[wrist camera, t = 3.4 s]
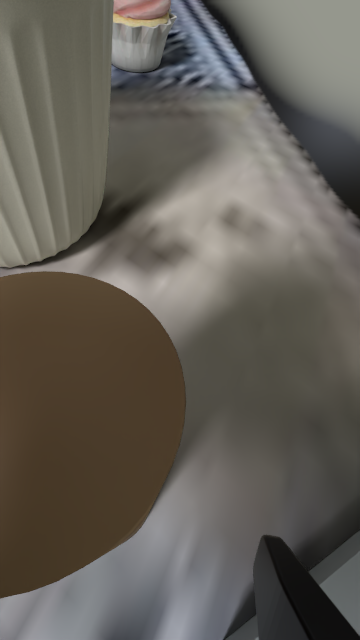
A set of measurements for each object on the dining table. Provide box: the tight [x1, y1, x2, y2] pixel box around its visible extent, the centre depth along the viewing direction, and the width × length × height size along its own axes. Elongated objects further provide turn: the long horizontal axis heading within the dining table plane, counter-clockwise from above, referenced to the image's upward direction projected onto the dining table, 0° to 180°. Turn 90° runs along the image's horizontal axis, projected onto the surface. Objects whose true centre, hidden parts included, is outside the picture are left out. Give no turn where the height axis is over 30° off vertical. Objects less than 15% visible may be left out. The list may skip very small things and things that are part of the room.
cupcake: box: [111, 0, 176, 72], centre depth 37 cm, size 9×9×10 cm
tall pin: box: [0, 272, 186, 598], centre depth 10 cm, size 4×4×14 cm
